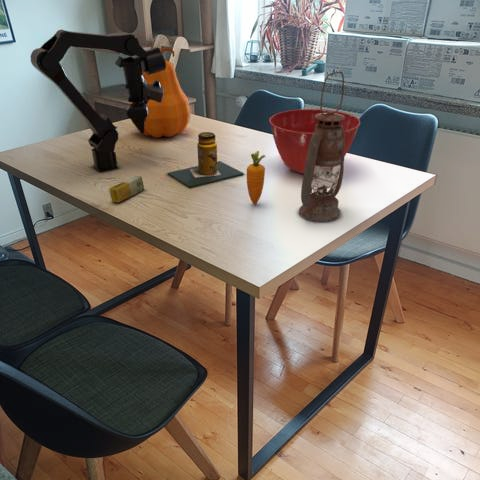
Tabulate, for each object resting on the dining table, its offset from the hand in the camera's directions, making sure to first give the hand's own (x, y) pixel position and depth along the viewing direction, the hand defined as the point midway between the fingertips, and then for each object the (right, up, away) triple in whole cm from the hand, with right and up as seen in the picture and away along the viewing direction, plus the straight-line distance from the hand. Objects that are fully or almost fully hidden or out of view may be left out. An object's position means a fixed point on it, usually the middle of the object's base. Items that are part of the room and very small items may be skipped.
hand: (143, 127), depth 164 cm
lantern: (+54, -36, -30) cm, 72 cm away
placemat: (+21, -18, -7) cm, 29 cm away
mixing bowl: (+56, -14, -1) cm, 57 cm away
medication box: (0, -29, -21) cm, 36 cm away
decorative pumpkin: (+2, +9, +30) cm, 31 cm away
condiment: (+21, -18, -7) cm, 28 cm away
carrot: (+37, -32, -26) cm, 55 cm away
